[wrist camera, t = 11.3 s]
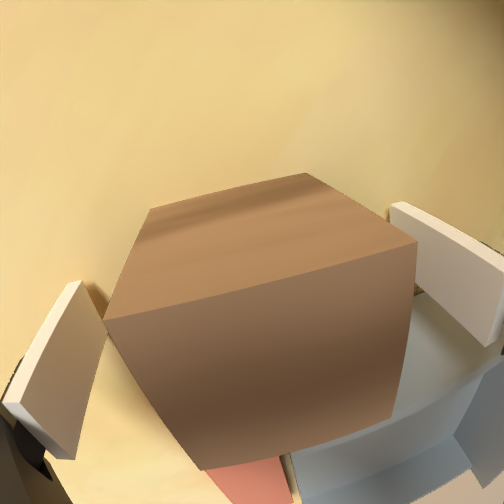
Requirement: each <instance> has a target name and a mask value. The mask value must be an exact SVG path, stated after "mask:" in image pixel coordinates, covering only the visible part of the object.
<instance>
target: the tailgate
mask: <svg viewBox="0 0 504 504" xmlns="http://www.w3.org/2000/svg"><path fill="white" fill-rule="evenodd" d="M204 471H205V472H206V473H207V474H208V476H209V477H210V478H211V479H212V480H213V482H214V483H215V484H216V485H217V486H218V487H219V489H220V490H221V491H222V492H223V493H224V494H225V495H226V497H227V498H228V499H229V500H230V501H231V502H232V503H233V504H292V503H293V499H292V495H291V492H290V489H289V486H288V483H287V480H286V477H285V474H284V470H283V467H282V464H281V461H280V458H279V456H276V457H272V458H268V459H263V460H259V461H254V462H249V463H245V464H239V465H234V466H228V467H222V468H216V469H209V470H204Z"/></svg>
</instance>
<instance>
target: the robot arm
mask: <svg viewBox="0 0 504 504" xmlns="http://www.w3.org/2000/svg"><path fill="white" fill-rule="evenodd" d="M389 212H390V223H391V224H392V225H394V226H395V227H397V228H398V229H400V230H402V231H403V232H405V233H406V234H408V235H409V236H411V237H412V238H414V239H415V240H416V241H418V248H417V264H416V277H415V283H416V284H417V285H418V286H419V287H421V288H422V289H423V290H424V291H425V292H426V293H427V294H429V295H430V296H431V297H432V298H433V299H434V300H435V301H436V302H437V303H439V304H440V305H441V306H442V307H443V308H444V309H445V310H446V311H447V312H448V313H449V314H451V315H452V316H453V317H454V318H455V319H456V320H457V321H458V322H459V323H460V324H461V325H462V326H463V327H464V328H465V329H466V330H468V331H469V332H470V333H471V334H472V335H473V336H474V337H475V338H476V339H477V340H478V341H479V342H480V343H481V344H482V345H483V346H484V347H487V346H489V345H490V344H492V343H493V342H495V341H496V340H498V339H499V338H500V335H501V332H502V329H503V326H504V255H503V254H501V255H500V253H499V252H498V251H496V250H493V249H492V248H491V247H490V246H488V245H486V244H484V243H483V242H480V241H477V240H475V239H474V238H472V237H470V236H468V235H467V234H465V233H463V232H461V231H460V230H458V229H456V228H454V227H452V226H451V225H449V224H447V223H445V222H443V221H441V220H439V219H438V218H436V217H434V216H432V215H430V214H428V213H426V212H424V211H422V210H420V209H418V208H416V207H414V206H412V205H410V204H408V203H406V202H404V201H401V202H397V203H393V204H389ZM107 334H108V331H107V330H106V328H105V326H104V324H103V322H102V320H101V318H100V316H99V314H98V312H97V310H96V308H95V306H94V304H93V302H92V300H91V297H90V295H89V293H88V291H87V289H86V287H85V284H84V282H83V280H79V281H75V282H72V283H68V284H67V285H66V287H65V288H64V290H63V292H62V293H61V295H60V296H59V298H58V299H57V301H56V303H55V304H54V306H53V307H52V309H51V311H50V312H49V314H48V316H47V317H46V319H45V321H44V322H43V324H42V326H41V328H40V329H39V331H38V333H37V335H36V336H35V338H34V340H33V342H32V343H31V345H30V347H29V349H28V351H27V353H26V354H25V356H24V357H23V358H22V359H21V360H20V361H19V363H18V365H17V367H16V369H15V371H14V374H13V375H12V377H11V379H10V382H9V383H8V385H7V387H6V389H5V391H4V393H3V395H2V397H1V399H0V504H73V503H72V501H71V500H70V498H69V497H68V495H67V493H66V492H65V490H64V488H63V486H62V485H61V483H60V481H59V479H58V477H57V476H56V474H55V472H54V470H53V468H52V466H51V464H50V463H49V462H48V460H47V459H46V458H44V453H45V449H46V450H47V451H49V452H50V453H51V454H52V455H53V456H54V457H55V458H56V459H67V460H75V457H76V452H77V447H78V443H79V438H80V433H81V429H82V424H83V420H84V416H85V412H86V408H87V404H88V400H89V396H90V392H91V388H92V385H93V381H94V377H95V374H96V370H97V367H98V363H99V360H100V357H101V353H102V350H103V347H104V344H105V341H106V337H107ZM501 355H504V346H503V348H502V351H501Z"/></svg>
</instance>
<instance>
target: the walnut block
mask: <svg viewBox="0 0 504 504" xmlns="http://www.w3.org/2000/svg"><path fill="white" fill-rule="evenodd" d="M417 248H418V241H416V240H415V239H414V238H412V237H411V236H409V235H408V234H406V233H405V232H403V231H402V230H400V229H398V228H397V227H395V226H394V225H392V224H391V223H389V222H388V221H386V220H385V219H383V218H381V217H380V216H378V215H377V214H375V213H373V212H372V211H370V210H369V209H367V208H365V207H364V206H362V205H361V204H359V203H357V202H356V201H354V200H352V199H351V198H349V197H347V196H346V195H344V194H342V193H340V192H339V191H337V190H335V189H334V188H332V187H330V186H328V185H327V184H325V183H323V182H321V181H320V180H318V179H316V178H314V177H312V176H311V175H309V174H307V173H302V174H297V175H292V176H287V177H282V178H278V179H273V180H268V181H263V182H259V183H254V184H250V185H245V186H241V187H236V188H232V189H228V190H223V191H219V192H215V193H211V194H207V195H203V196H199V197H195V198H191V199H187V200H183V201H179V202H175V203H171V204H168V205H164V206H160V207H157V208H153V209H150V211H149V213H148V216H147V218H146V220H145V222H144V224H143V226H142V228H141V230H140V232H139V234H138V237H137V239H136V241H135V243H134V245H133V248H132V250H131V252H130V254H129V256H128V259H127V261H126V263H125V266H124V268H123V270H122V273H121V275H120V277H119V280H118V282H117V285H116V287H115V289H114V292H113V294H112V297H111V299H110V302H109V304H108V307H107V310H106V312H105V315H104V317H103V320H102V321H103V323H104V325H105V327H106V329H107V331H108V333H109V335H110V336H111V338H112V340H113V342H114V344H115V346H116V347H117V349H118V351H119V353H120V354H121V356H122V358H123V360H124V361H125V363H126V365H127V366H128V368H129V370H130V372H131V373H132V375H133V376H134V378H135V380H136V381H137V383H138V385H139V386H140V388H141V389H142V391H143V392H144V394H145V396H146V397H147V399H148V400H149V402H150V403H151V405H152V406H153V408H154V409H155V411H156V412H157V414H158V415H159V416H160V418H161V419H162V421H163V422H164V424H165V425H166V426H167V428H168V429H169V431H170V432H171V433H172V435H173V436H174V437H175V439H176V440H177V441H178V443H179V444H180V445H181V447H182V448H183V449H184V451H185V452H186V453H187V455H188V456H189V457H190V458H191V460H192V461H193V462H194V463H195V465H196V466H197V467H198V468H199V469H200V471H202V470H209V469H216V468H222V467H228V466H234V465H239V464H245V463H249V462H254V461H259V460H263V459H268V458H272V457H276V456H280V455H284V454H288V453H292V452H295V451H299V450H302V449H306V448H309V447H313V446H316V445H319V444H322V443H325V442H329V441H332V440H335V439H337V438H340V437H343V436H346V435H349V434H352V433H354V432H357V431H360V430H362V429H365V428H367V427H370V426H372V425H375V424H377V423H380V422H382V421H384V420H387V419H389V418H391V416H392V412H393V408H394V404H395V400H396V396H397V392H398V387H399V383H400V378H401V373H402V368H403V363H404V358H405V352H406V347H407V341H408V335H409V328H410V321H411V314H412V306H413V297H414V287H415V277H416V264H417Z"/></svg>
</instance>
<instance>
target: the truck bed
mask: <svg viewBox="0 0 504 504" xmlns="http://www.w3.org/2000/svg"><path fill="white" fill-rule="evenodd" d="M503 346H504V326H503V329H502V332H501V335H500V338H499V339H498V340H496V341H495V342H493V343H492V344H490V345H489V346H487V347H484V346H483V345H482V344H481V343H480V342H479V341H478V340H477V339H476V338H475V337H474V336H473V335H472V334H471V333H470V332H469V331H468V330H466V329H465V328H464V327H463V326H462V325H461V324H460V323H459V322H458V321H457V320H456V319H455V318H454V317H453V316H452V315H451V314H449V313H448V312H447V311H446V310H445V309H444V308H443V307H442V306H441V305H440V304H439V303H437V302H436V301H435V300H434V299H433V298H432V297H431V296H430V295H429V294H427V293H426V292H423V293H420V294H418V295H415V296H414V297H413V306H412V314H411V321H410V328H409V335H408V341H407V347H406V352H405V358H404V363H403V368H402V373H401V378H400V383H399V387H398V392H397V396H396V400H395V404H394V408H393V412H392V416H391V418H389V419H387V420H384V421H382V422H380V423H377V424H375V425H372V426H370V427H367V428H365V429H362V430H360V431H357V432H354V433H352V434H349V435H346V436H343V437H340V438H337V439H335V440H332V441H329V442H325V443H322V444H319V445H316V446H313V447H309V448H306V449H302V450H299V451H295V452H292V453H290V457H291V461H292V465H293V470H294V474H295V478H296V482H297V486H298V490H299V494H300V497H301V500H302V504H410V503H412V502H414V501H416V500H418V499H420V498H422V497H424V496H425V495H427V494H429V493H431V492H432V491H435V490H436V489H438V488H440V487H442V486H443V485H445V484H447V483H448V482H450V481H452V480H453V479H455V478H456V477H458V476H460V475H461V474H462V473H464V472H466V471H467V470H469V469H471V470H472V472H473V474H474V475H475V477H476V478H477V480H478V481H479V483H480V485H481V487H482V488H485V487H486V486H487V485H489V484H490V483H491V482H492V481H493V480H494V479H495V478H496V477H497V476H498V475H499V474H501V472H502V471H504V355H501V351H502V348H503Z"/></svg>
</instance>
